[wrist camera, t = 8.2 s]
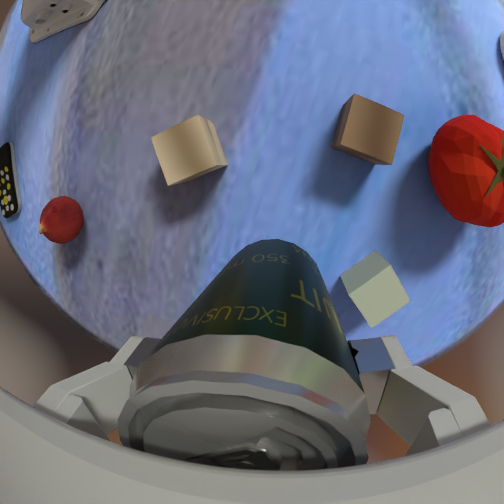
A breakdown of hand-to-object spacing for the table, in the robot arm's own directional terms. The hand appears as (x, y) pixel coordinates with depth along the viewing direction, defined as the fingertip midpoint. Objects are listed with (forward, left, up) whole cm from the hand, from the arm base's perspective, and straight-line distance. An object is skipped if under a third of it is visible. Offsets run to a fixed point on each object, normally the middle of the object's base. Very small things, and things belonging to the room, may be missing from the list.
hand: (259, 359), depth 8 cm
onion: (-26, +3, -22) cm, 34 cm away
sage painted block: (+10, -7, -22) cm, 25 cm away
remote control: (-44, +11, -23) cm, 51 cm away
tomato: (+21, +6, -22) cm, 31 cm away
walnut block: (+9, +9, -22) cm, 26 cm away
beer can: (0, -1, -8) cm, 8 cm away
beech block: (-8, +8, -22) cm, 25 cm away
